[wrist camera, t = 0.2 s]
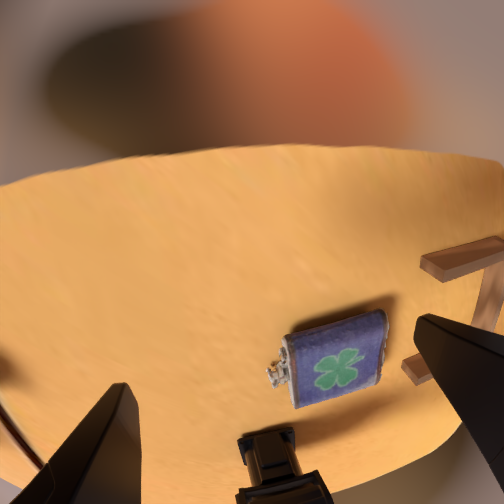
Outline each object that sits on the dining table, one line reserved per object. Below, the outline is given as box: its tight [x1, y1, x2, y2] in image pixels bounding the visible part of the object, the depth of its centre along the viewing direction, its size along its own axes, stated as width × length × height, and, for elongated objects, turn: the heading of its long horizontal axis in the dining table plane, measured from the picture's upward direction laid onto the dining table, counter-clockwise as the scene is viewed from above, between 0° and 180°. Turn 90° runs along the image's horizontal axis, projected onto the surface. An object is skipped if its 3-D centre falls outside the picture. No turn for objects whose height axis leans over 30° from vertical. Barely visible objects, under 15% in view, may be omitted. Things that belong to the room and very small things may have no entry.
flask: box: [266, 308, 389, 409], centre depth 26 cm, size 9×3×11 cm
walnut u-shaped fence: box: [401, 236, 504, 386], centre depth 28 cm, size 14×13×4 cm
